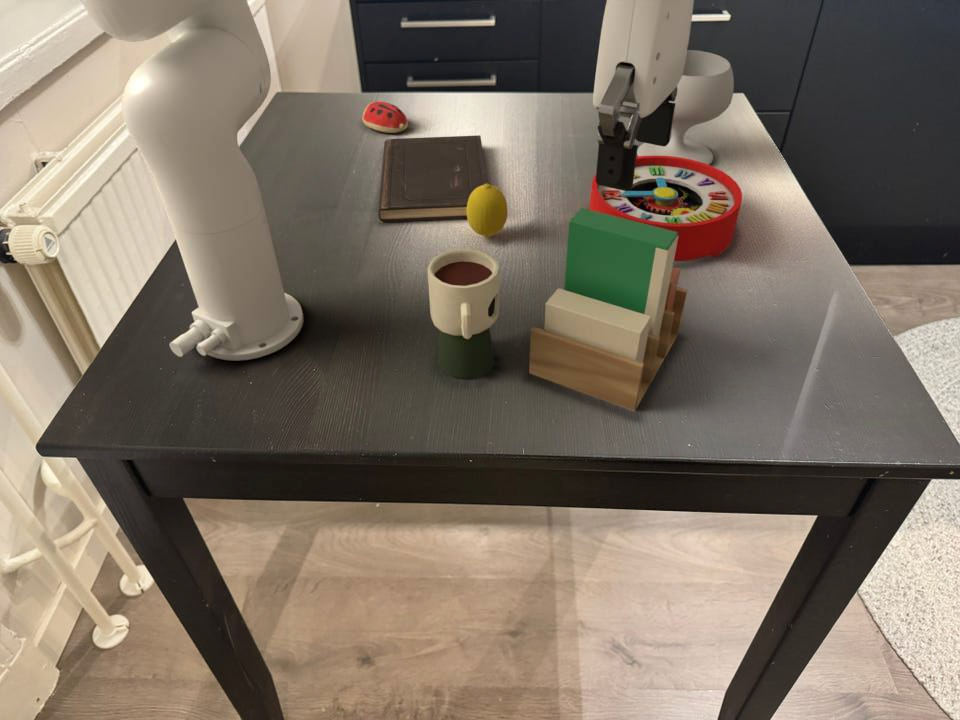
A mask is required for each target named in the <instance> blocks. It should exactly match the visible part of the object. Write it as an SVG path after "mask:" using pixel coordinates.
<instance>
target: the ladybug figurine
mask: <svg viewBox="0 0 960 720" xmlns="http://www.w3.org/2000/svg"><path fill="white" fill-rule="evenodd" d="M361 119H362V123H363V124H364V125H365V126H366V127H367V128H369V129H371V130H373V131H375V132H381V133H386V134H396V133H401V132H403V131H404V130H407V128H408V126H409V121H408V118H407V116H406V115H405V113H404V112H403V110H402V109H400V108H399V107H398V106H397V105H394V104H391V102H385V101H372V102H370V103H368V105H366V107H365V108H364V110H363V113H362V117H361Z"/></svg>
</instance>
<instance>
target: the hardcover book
mask: <svg viewBox="0 0 960 720" xmlns="http://www.w3.org/2000/svg"><path fill="white" fill-rule="evenodd" d="M483 150H484V149H483V143H482V137H481V135H479V134H478V135H477V134H476V135H457V136H455V135H453V136H432V137H431V136H429V137H405V138H404V137H403V138H387V139H386V140H385V141H384V144H383V154H382V167H381V177H380V188H379V198H378V200H379V201H378V212H377V215H378V219H379V221H380V222H382V223H399V222H401V223H402V222H418V221H419V222H420V221H421V222H422V221H423V222H425V221H446V220H468V219H467V203H468V199H469V197H470V194H471V193H472V192H473V191H474V190H475V189H476V188H477V187H479V186H482V185H484V184H489V183H488V178H487V177H488V176H487V171H486V164H485V157H484V151H483Z"/></svg>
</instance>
